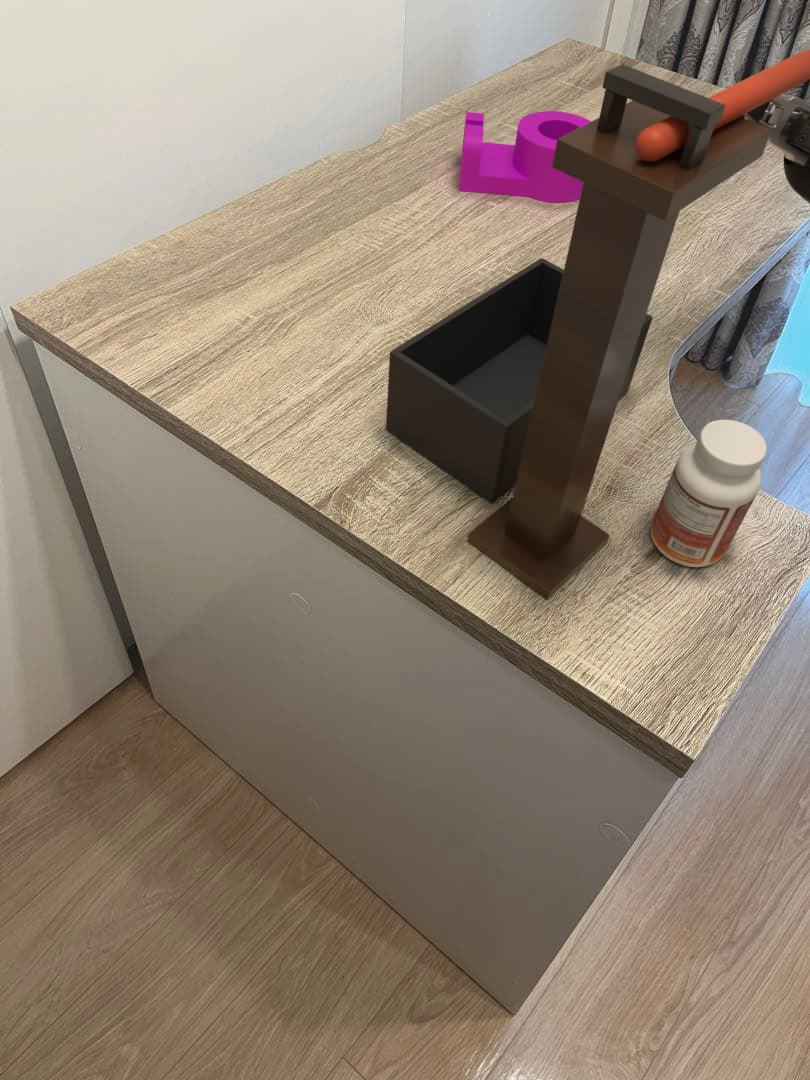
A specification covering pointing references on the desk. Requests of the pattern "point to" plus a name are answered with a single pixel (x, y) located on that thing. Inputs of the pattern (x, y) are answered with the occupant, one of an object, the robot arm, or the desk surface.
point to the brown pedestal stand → (604, 309)
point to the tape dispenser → (520, 159)
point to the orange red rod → (727, 105)
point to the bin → (480, 380)
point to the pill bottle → (709, 494)
